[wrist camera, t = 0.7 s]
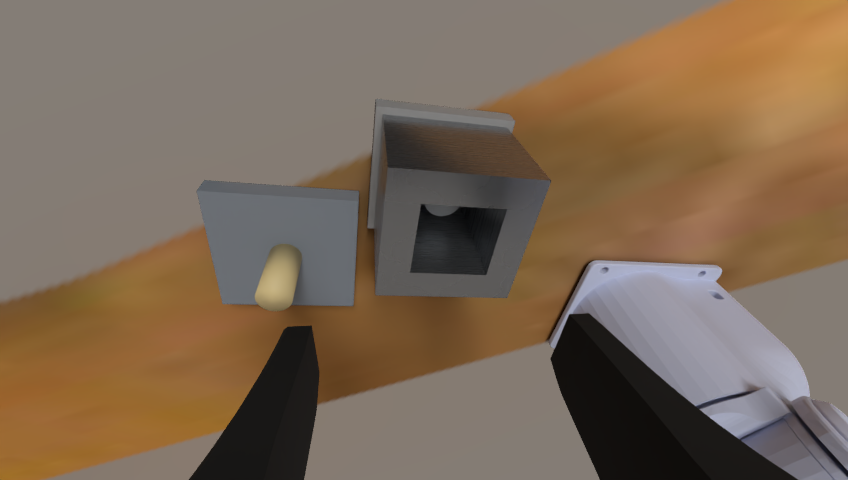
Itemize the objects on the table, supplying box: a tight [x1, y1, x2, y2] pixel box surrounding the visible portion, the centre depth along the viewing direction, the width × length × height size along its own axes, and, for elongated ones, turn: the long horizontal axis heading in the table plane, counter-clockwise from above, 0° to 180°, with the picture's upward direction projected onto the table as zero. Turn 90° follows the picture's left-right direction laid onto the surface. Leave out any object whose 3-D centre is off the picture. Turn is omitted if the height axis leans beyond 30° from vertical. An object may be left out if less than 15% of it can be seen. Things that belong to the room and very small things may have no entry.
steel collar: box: [374, 114, 551, 298], centre depth 16 cm, size 5×5×5 cm
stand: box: [368, 99, 515, 228], centre depth 17 cm, size 6×6×3 cm
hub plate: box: [197, 180, 359, 311], centre depth 18 cm, size 7×7×4 cm
